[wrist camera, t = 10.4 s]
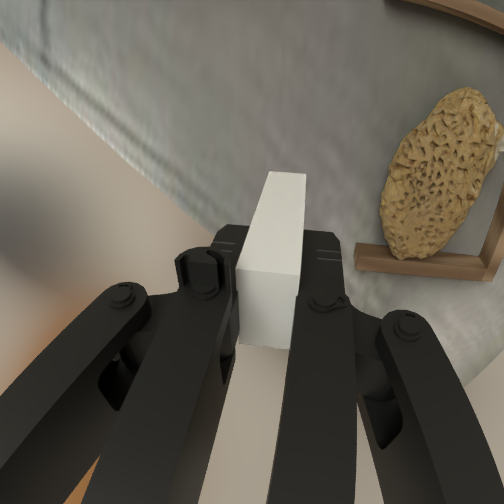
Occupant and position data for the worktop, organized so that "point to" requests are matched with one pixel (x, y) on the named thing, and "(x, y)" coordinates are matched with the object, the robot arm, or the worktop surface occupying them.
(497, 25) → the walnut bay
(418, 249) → the sponge
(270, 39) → the worktop surface
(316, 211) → the worktop surface
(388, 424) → the robot arm
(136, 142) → the worktop surface
